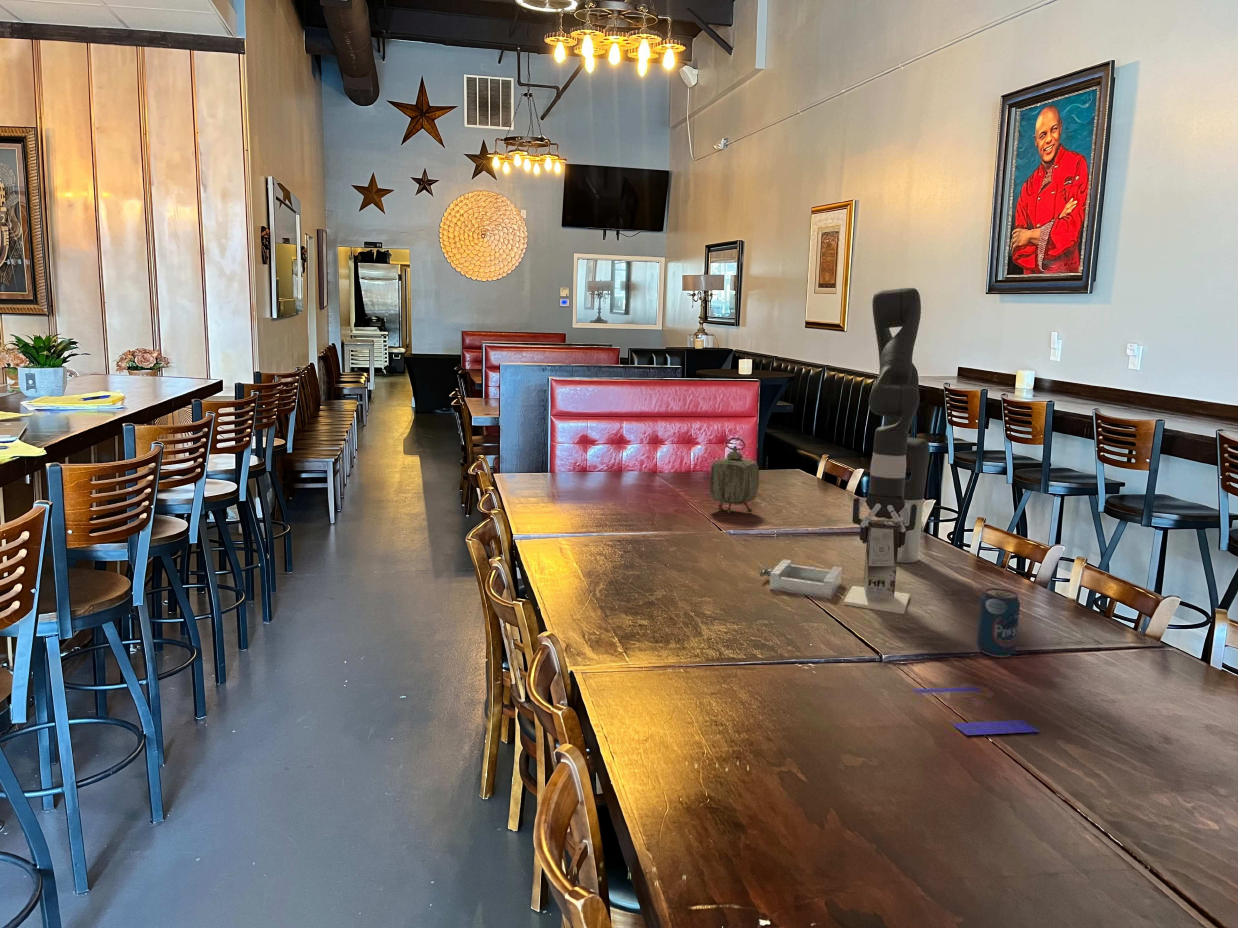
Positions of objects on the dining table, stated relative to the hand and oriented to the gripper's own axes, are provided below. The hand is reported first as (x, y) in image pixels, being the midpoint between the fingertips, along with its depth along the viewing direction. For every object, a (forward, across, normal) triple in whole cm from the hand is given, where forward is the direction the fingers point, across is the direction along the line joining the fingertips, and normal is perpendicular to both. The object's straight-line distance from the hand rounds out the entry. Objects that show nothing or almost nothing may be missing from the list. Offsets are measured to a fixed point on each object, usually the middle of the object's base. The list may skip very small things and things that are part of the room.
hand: (881, 544), depth 194 cm
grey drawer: (+13, +19, -3) cm, 23 cm away
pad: (+13, 0, 0) cm, 13 cm away
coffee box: (+11, 0, 0) cm, 11 cm away
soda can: (+13, -25, +21) cm, 35 cm away
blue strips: (+14, -20, +49) cm, 54 cm away
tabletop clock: (+14, +56, -73) cm, 93 cm away
